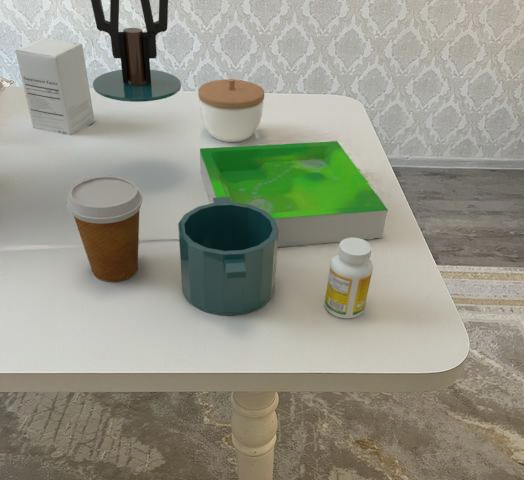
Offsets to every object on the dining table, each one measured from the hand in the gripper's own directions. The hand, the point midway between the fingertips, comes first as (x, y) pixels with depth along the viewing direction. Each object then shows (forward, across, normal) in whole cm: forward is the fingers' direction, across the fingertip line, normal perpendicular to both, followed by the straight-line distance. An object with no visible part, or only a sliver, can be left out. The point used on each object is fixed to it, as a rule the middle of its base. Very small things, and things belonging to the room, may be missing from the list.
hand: (137, 79), depth 92 cm
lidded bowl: (+17, +17, +17) cm, 29 cm away
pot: (+17, +11, -33) cm, 38 cm away
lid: (+1, 0, 0) cm, 1 cm away
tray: (+17, +23, -11) cm, 30 cm away
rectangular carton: (+17, -16, +24) cm, 34 cm away
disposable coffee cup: (+17, -5, -27) cm, 32 cm away
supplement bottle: (+17, +26, -39) cm, 50 cm away
